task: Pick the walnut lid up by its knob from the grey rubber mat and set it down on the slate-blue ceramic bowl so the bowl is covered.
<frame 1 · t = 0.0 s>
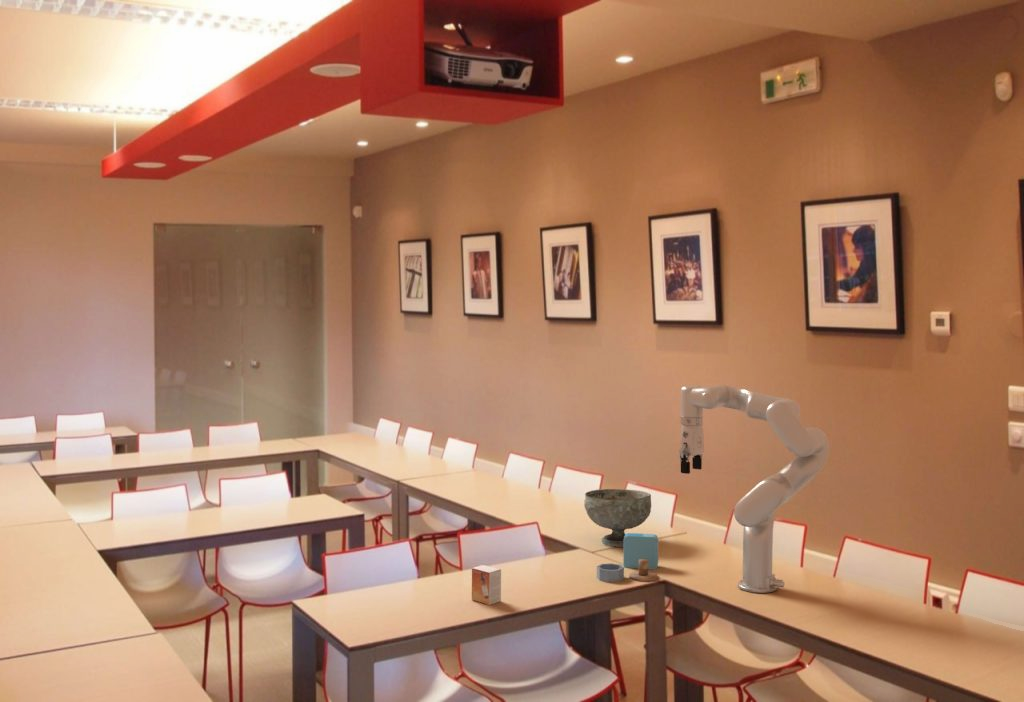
hand: (691, 471, 337), 37 cm above the table, tool pointing down, fingers open, 9 cm apart
mat: (643, 579, 336), on the table
small box: (486, 601, 313), on the table
decorative bowl: (617, 543, 386), on the table
bowl: (610, 579, 336), on the table
lid: (643, 577, 336), point 1 cm above the table, touching mat
data package: (640, 568, 350), on the table
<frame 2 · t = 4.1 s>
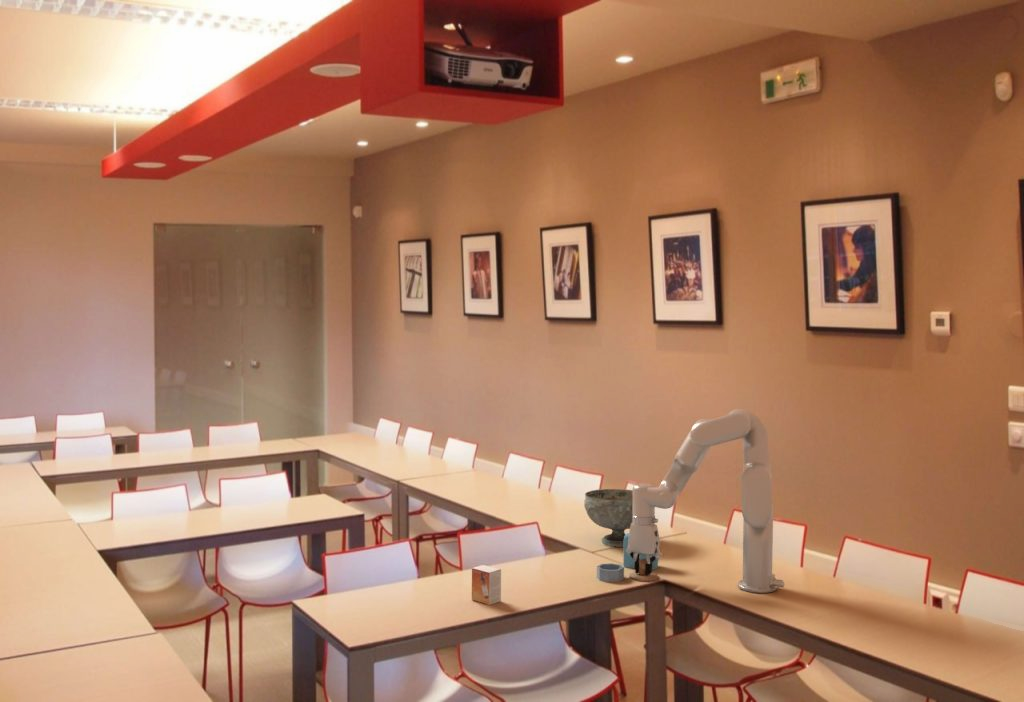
hand: (643, 572, 336), 2 cm above the table, tool pointing down, fingers closed on lid, 3 cm apart
lid: (643, 577, 336), point 1 cm above the table, touching gripper, mat
everything else where it was.
when the fingers open (8 cm above the table, at t = 8.0 s): lid drops 2 cm, resting on bowl.
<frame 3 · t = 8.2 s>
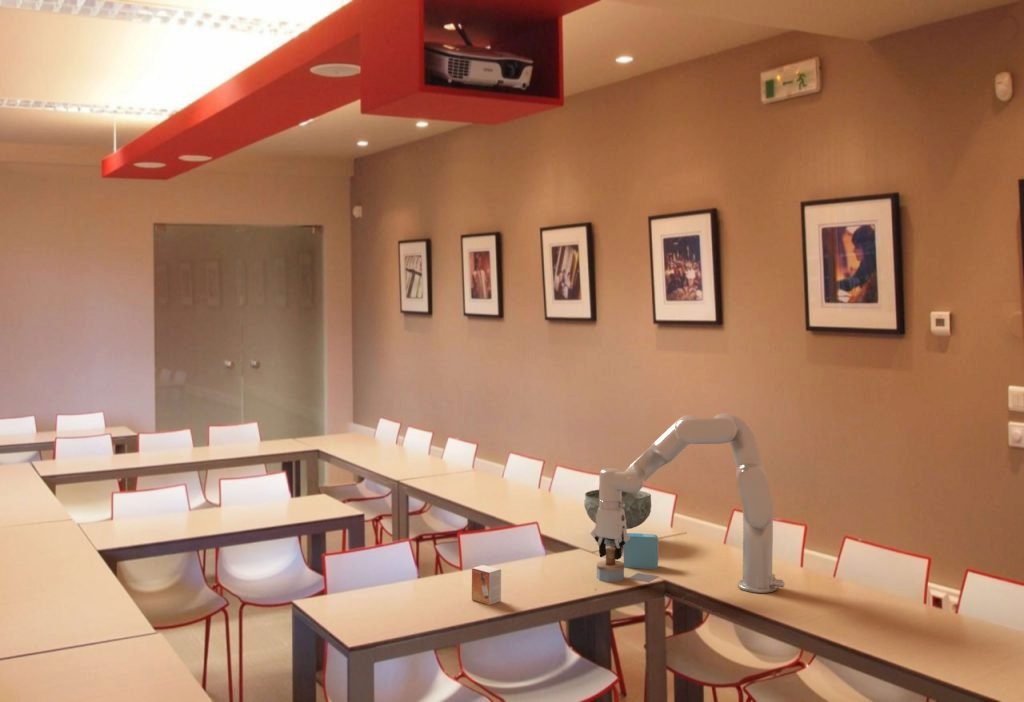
hand: (610, 557, 335), 8 cm above the table, tool pointing down, fingers open, 5 cm apart
lid: (610, 566, 335), point 4 cm above the table, touching bowl
everything else where it was.
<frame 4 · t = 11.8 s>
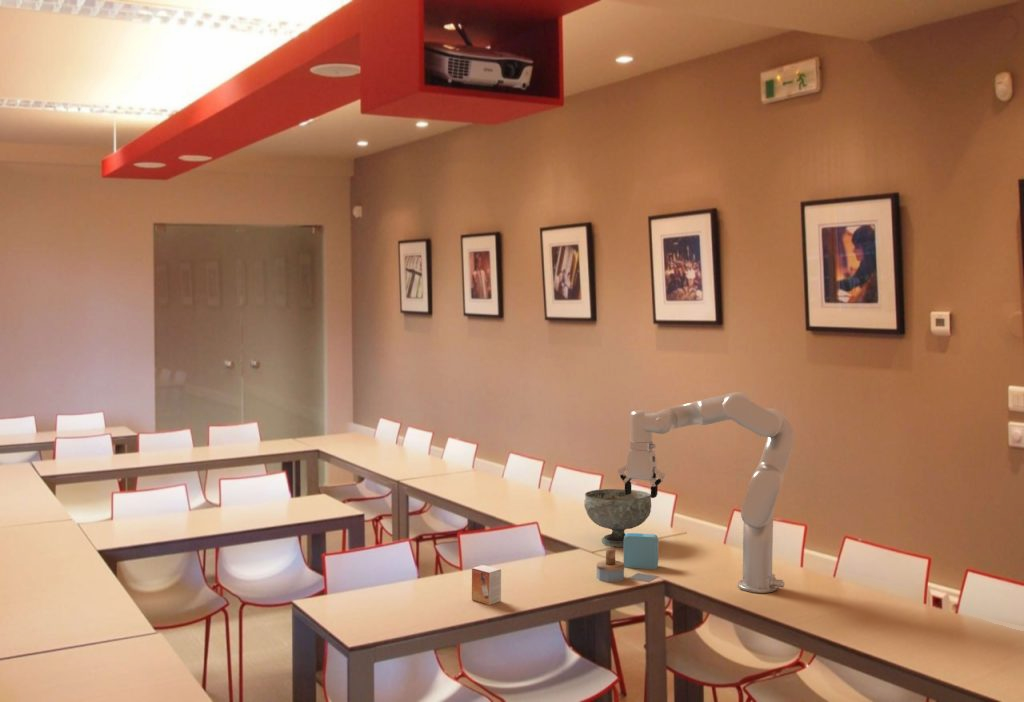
hand: (640, 495, 337), 28 cm above the table, tool pointing down, fingers open, 9 cm apart
nothing on the table moved.
at the end: lid 0.1 cm off-centre on the bowl, point 4.5 cm above the bowl's base; lid tilted 0°; the gripper is holding nothing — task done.
